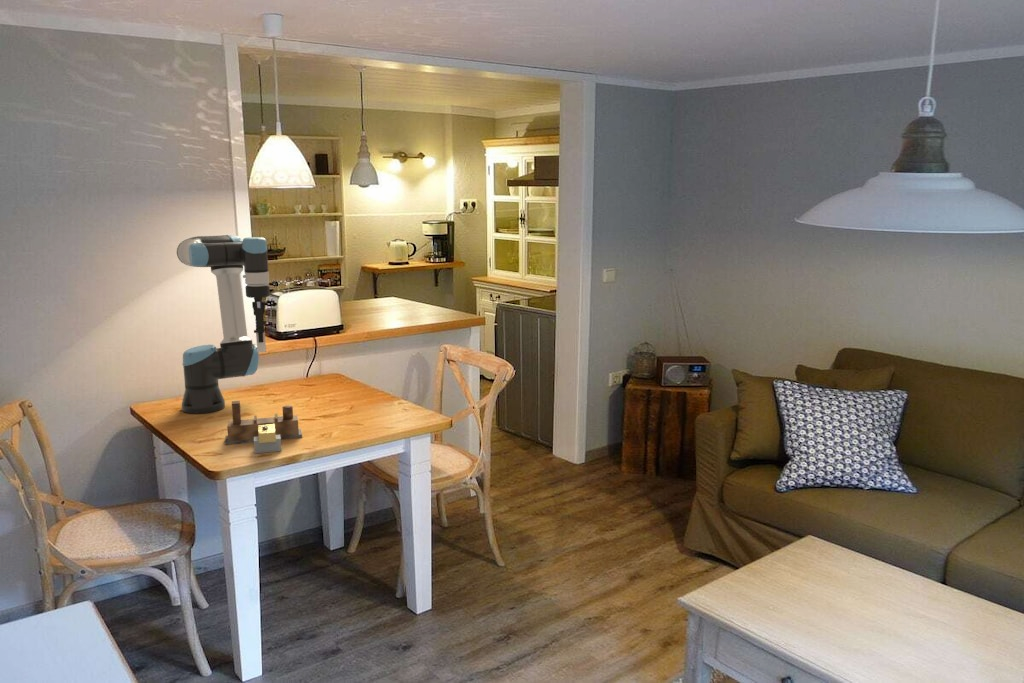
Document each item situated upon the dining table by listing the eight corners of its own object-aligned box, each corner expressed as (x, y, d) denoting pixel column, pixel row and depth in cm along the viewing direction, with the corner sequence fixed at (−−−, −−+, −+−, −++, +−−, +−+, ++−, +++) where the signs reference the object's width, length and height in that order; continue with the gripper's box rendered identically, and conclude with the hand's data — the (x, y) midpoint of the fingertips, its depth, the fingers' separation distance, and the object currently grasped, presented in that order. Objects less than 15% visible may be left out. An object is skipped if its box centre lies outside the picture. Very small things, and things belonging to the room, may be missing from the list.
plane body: (225, 444, 246) (222, 406, 243) (225, 438, 252) (222, 400, 249) (302, 437, 253) (300, 399, 251) (300, 431, 259) (298, 394, 256)
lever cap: (259, 443, 235) (258, 432, 235) (258, 434, 244) (258, 423, 243) (275, 441, 237) (275, 430, 236) (275, 432, 245) (274, 422, 245)
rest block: (254, 449, 242) (253, 437, 241) (280, 446, 244) (280, 434, 244) (254, 453, 238) (253, 441, 237) (281, 450, 240) (280, 438, 240)
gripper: (245, 280, 261) (249, 341, 266) (245, 289, 238) (249, 356, 243) (268, 279, 264) (272, 339, 268) (270, 289, 241) (274, 354, 245)
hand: (261, 347), depth 255 cm, fingers open, 13 cm apart
